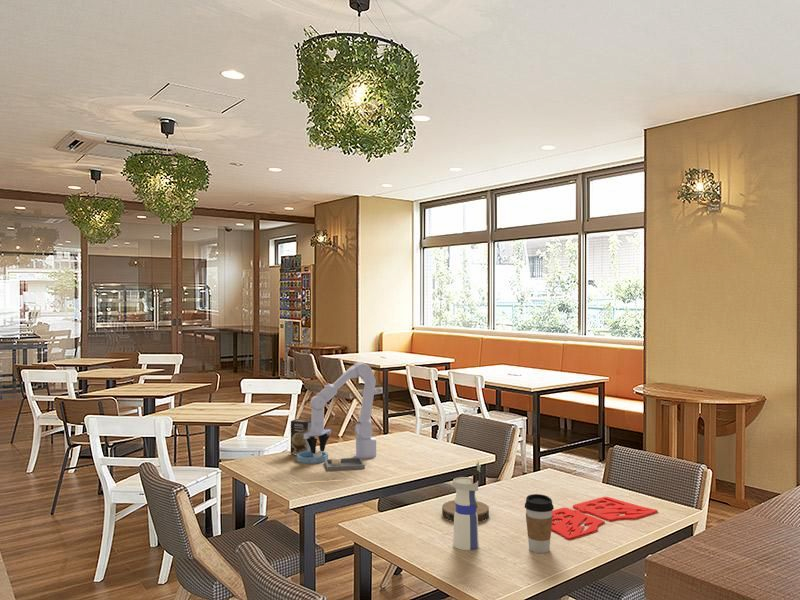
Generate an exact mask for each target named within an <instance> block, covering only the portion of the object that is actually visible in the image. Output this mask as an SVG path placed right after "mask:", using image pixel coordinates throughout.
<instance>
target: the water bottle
mask: <svg viewBox="0 0 800 600" xmlns="http://www.w3.org/2000/svg"><path fill="white" fill-rule="evenodd" d="M475 465H476V471H478V472H479V473H481V464H480V462H479V461H477V463H475ZM472 481H473V480H472V478H471V477H468V476H460V477H456V478H453V480H452V481H451V484H450V486H451V487H452V488H454V489H455V491H456V492H455V493H456V494H455V497H454V499H453V500H454V502H455V503H456V511H455V514H454V522H453V540H452V543H453V544H452V546H453V547H454V548H455V549H457V548H458V549H457V550H463V551H473V550H476V549H478V548H479V547H480V542H479V541H480V539H479V522H478V515H477V512H476V510H477V509H478V499H477V497H476V492H478V493H479V491H480V490H479V480H477V481H476V482H475V483H472Z"/></svg>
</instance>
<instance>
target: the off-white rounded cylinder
mask: <svg viewBox="0 0 800 600" xmlns="http://www.w3.org/2000/svg"><path fill="white" fill-rule="evenodd" d="M321 456H322V451H320V450H316V452H315V453H313V458H314V457H321Z"/></svg>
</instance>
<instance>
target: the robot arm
mask: <svg viewBox="0 0 800 600" xmlns="http://www.w3.org/2000/svg"><path fill="white" fill-rule="evenodd" d="M358 377H359V378H360V379H361V381H362V382H363V383H364V385H363V386H364V387H363V393H362V399H361V400H362V401H361V406H360V413H359V417H358V419H357V422H356V424H355V426H354V431H355V433H356V436H355V453H354V454H353V456H354V458H361V459H367V458H368V459H369V458H377V439H376V437H373V436H372V435H373V427H372V419H371V418H372V411H373V404H374V398H375V390H376V383H377V380H376V377H375V375H374V373H373V368H372V367H371V366H370V365H368V364H367V363H364V362H362V361H357V362H355V363H354V364H353V365H351V366H350V367H349V368H348V369H346V371H345V372H344V373H342V374H341V376H339V377H338V378H337V379H336V380H335V382H333V383H328V384H325V385H324V386H323V387H324V388H323V389H321V390H320V391H319V392H316V395H314V396H312V397H311V399H310V402H309V403H310V406H311V412H310V414H311V417H310V420H311V432H309V433H307V434H304V439H306V440H307V441H308V443H309V446H310V449H311V453H315V452H316V451H317V442H318V441H319V451H324V452H325V449H326V445H327V443H328V441H329V439H330V435H331V434H332V429H325V414H324V413H325V412H324V408H325V406H326V403H328V402H330V400H331V399H332V398H334V397H335V396H336V395H337V394H338V389H340V388H341V387H342V386H344V384H346V383H347V382H349V380H350V379H356V378H358ZM316 437H318V438H316Z"/></svg>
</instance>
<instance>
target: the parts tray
mask: <svg viewBox="0 0 800 600" xmlns="http://www.w3.org/2000/svg"><path fill="white" fill-rule="evenodd" d="M324 465H325V468H326V471H327V472H333V471H346V470H347V471H349V470H364V469H365V465H366V464H365V463H364V461H363V459H362V458H356V457H345V458H341V466H332V458H328V459H325V462H324Z"/></svg>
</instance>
